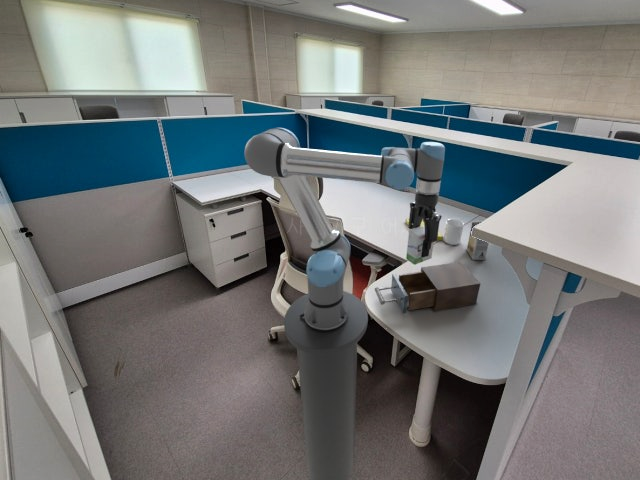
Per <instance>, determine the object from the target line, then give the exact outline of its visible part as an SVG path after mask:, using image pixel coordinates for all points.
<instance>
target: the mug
mask: <svg viewBox="0 0 640 480" xmlns="http://www.w3.org/2000/svg"><path fill="white" fill-rule="evenodd" d="M464 225H465V224H464V222H463V221H462V220H459V219H454V218H449V219H447V220H446V221H445V227H444V232H443V241H444V242H445V244H447V245H451V246H457V245H459V244H460V243H461V241H462V236H463V231H464Z"/></svg>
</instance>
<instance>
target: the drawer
mask: <svg viewBox="0 0 640 480" xmlns="http://www.w3.org/2000/svg"><path fill="white" fill-rule="evenodd" d="M390 285H391V286H385V287H378V286H376V287H375V288H374V292H375V294H376V296H377V298H378V300H379V303H380V305H385V304H386V303H393V302H397V304H398V307H399V308H400V310H401V312H402V314H406V313H407V310H408V311H413V310H417V309H424V308H430V307H431V308H432V306H434V304H435V298H436V292H437V290H436V289H435V287H434V286H433V285H432V283H431V282H430V281H429V279H428V278H427V276H426V275H425V274H424V272H423V271H422V272H421V271H416V272H415V271H414V272H408V273H399V274H398V276H397V274H396V273H392V275H391V284H390ZM383 290H390V291H391V293H392V295H393V297H394V298H391V299H384V297H383V294H382V293H381V291H383Z"/></svg>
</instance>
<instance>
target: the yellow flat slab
mask: <svg viewBox="0 0 640 480" xmlns="http://www.w3.org/2000/svg"><path fill="white" fill-rule="evenodd" d="M405 224H406V225H407V226H408V225H409V218H405ZM412 225H413V224H412ZM421 226H424V222H423V219H422V222H421V225H420V227H421ZM437 241H444V235H443V234H442V233H440V231H439V230H438V237H437Z"/></svg>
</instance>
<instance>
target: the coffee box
mask: <svg viewBox="0 0 640 480" xmlns="http://www.w3.org/2000/svg"><path fill="white" fill-rule="evenodd" d="M481 222H482V221H472V222H471V227H470V232H469V237H468V241H467V246H466V251H467V254H469V256H470V258H471V260H472V261H482V260H483V261H484V260H486V256H487V252H488V248H489V243H490V242H489V243H487V242H485V241H482V240H479V239H477V238H474V237H472V235H471V231H472V228H473V227H474V226H475V225H477V224H479V223H481Z"/></svg>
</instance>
